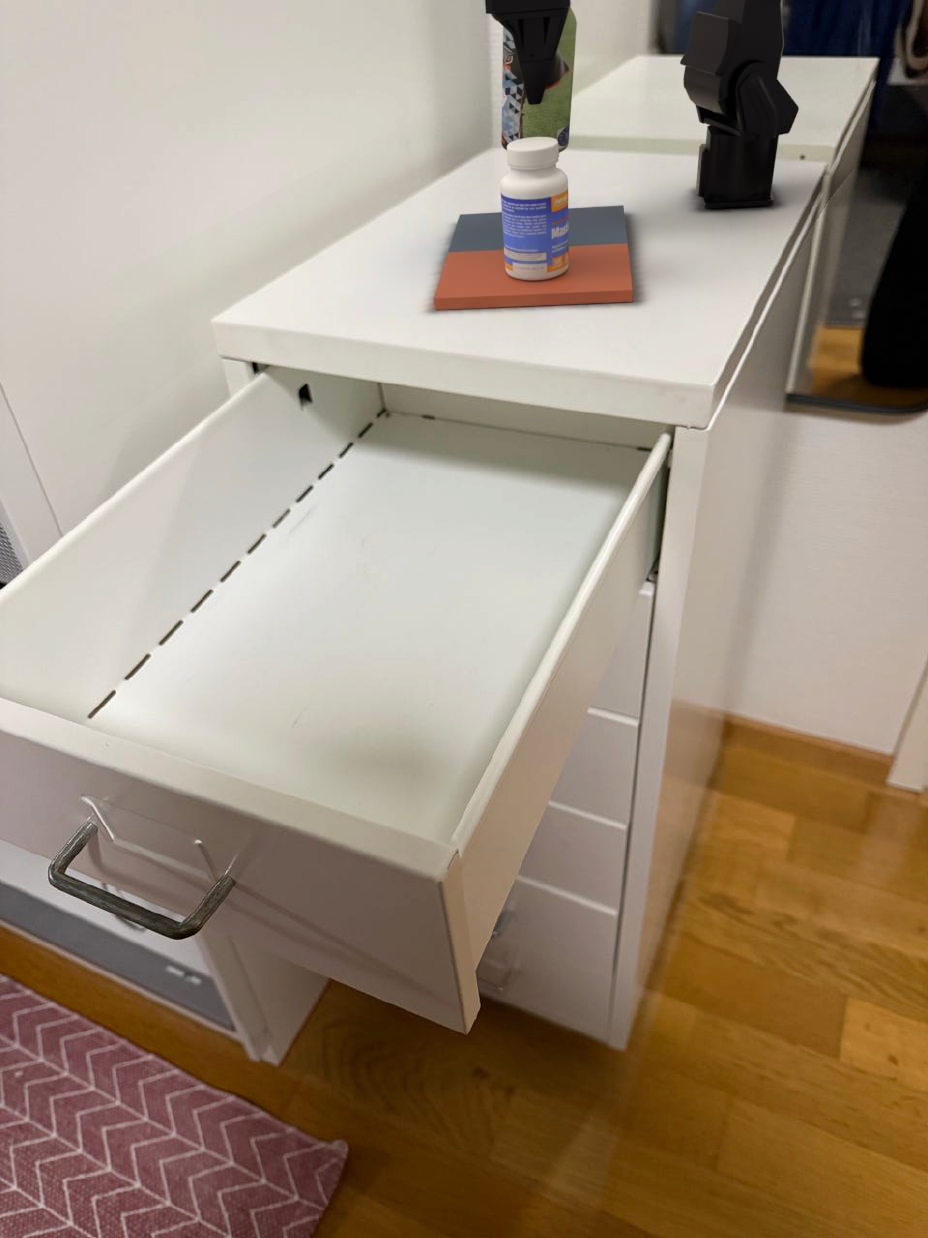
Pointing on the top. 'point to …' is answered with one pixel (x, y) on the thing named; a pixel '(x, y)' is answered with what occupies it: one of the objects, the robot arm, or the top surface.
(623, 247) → the board
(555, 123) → the beverage can
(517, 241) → the pill bottle
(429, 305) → the top surface
